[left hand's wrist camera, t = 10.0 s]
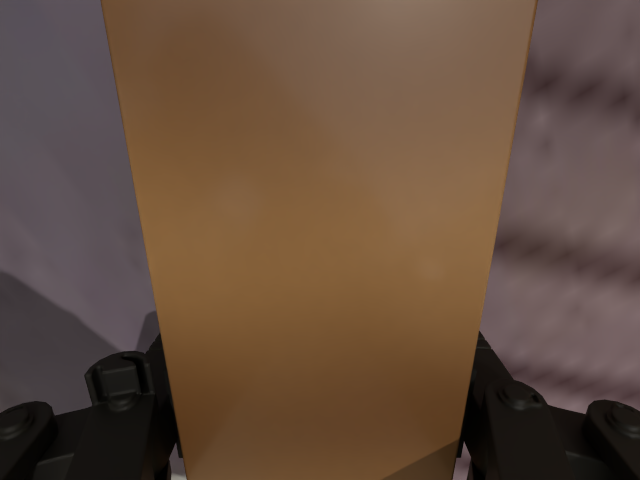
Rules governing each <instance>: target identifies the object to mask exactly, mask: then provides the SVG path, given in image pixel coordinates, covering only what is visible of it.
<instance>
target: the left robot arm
mask: <svg viewBox="0 0 640 480" xmlns="http://www.w3.org/2000/svg"><path fill="white" fill-rule="evenodd" d="M84 376H85V380H86V384H87V387H88V391H89V394H90V398H91V401H92V407H88V408H85V409H81V410H77V411H73V412H69V413H64V414H60V415H56V416H54V413H53V410H52V407H51V406H50V405H49V404H47V403H46V402H39V401H34V402H28V403H22V404H20V405H17V406H14V407H11V408H9V409H7V410H5V411H3V412H1V413H0V480H171V466H170V461H169V457H170V455H171V453H172V450H173V448H174V446H175V443H176V445H177V450H178V455H179V458H183V455H182V450H181V444H180V439H179V433H178V427H177V422H176V416H175V411H174V405H173V400H172V394H171V389H170V383H169V378H168V372H167V366H166V361H165V355H164V350H163V344H162V339H161V333H159V335H158V336H157V338H156V339H155V342H153V344H152V345H151V346H150V348H149V351H147V352H146V354H144V353H142V352H137V351H124V352H120V353H116V354H112V355H110V356H108V357H106V358H103V359H101V360H99V361H98V362H97V363H95V364H94V365H93V366H91V367H90V368H89V370H88V371H87V372H86V374H85V375H84ZM464 442H465V444H466V447H467V449H468V451H469V454H470V456H471V461H470V466H469V471H468V476H467V480H640V411H638V410H636V409H635V408H633V407H631V406H628V405H625V404H622V403H619V402H616V401H610V400H597V401H593V402H592V403H591V404H590V405H589V406H588V409H587V412H586V414H582V413H578V412H574V411H569V410H565V409H561V408H557V407H553V406H550V405H548V404H547V403H546V401H545V400H544V398H543V396H542V395H540V394H539V393H538V392H537V391H536V390H535V389H533V388H532V387H530V386H528V385H526V384H524V383H522V382H519V381H516V380H514V379H513V378H512V376H511V375H510V374H509V372H508V371H507V369H506V368H505V367H504V365H503V364H502V362H501V361H500V359H499V358H498V357H497V355H496V354H495V352H494V351H493V349H491V347H490V345H489V344H488V342H487V341H486V340H485V338H484V337H483V335H482V334H481V332H480V331H479V333H478V339H477V345H476V350H475V356H474V361H473V367H472V373H471V378H470V384H469V389H468V395H467V401H466V406H465V412H464V418H463V423H462V429H461V434H460V440H459V446H458V451H457V457H456V458H461V454H462V449H463V443H464Z"/></svg>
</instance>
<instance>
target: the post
mask: <svg viewBox="0 0 640 480" xmlns="http://www.w3.org/2000/svg"><path fill="white" fill-rule="evenodd" d="M537 3H538V0H101V5H102V11H103V16H104V22H105V28H106V33H107V39H108V44H109V50H110V55H111V61H112V66H113V72H114V78H115V83H116V89H117V94H118V100H119V105H120V111H121V116H122V122H123V128H124V133H125V139H126V144H127V150H128V155H129V161H130V166H131V172H132V178H133V183H134V189H135V194H136V200H137V205H138V211H139V216H140V222H141V228H142V233H143V239H144V244H145V250H146V255H147V261H148V266H149V272H150V278H151V283H152V289H153V294H154V300H155V305H156V311H157V316H158V322H159V328H160V333H161V339H162V344H163V350H164V355H165V361H166V366H167V372H168V378H169V383H170V389H171V394H172V400H173V405H174V411H175V416H176V422H177V427H178V433H179V439H180V444H181V450H182V455H183V461H184V466H185V472H186V477H187V480H452V479H453V474H454V468H455V462H456V457H457V451H458V446H459V440H460V434H461V429H462V423H463V418H464V412H465V406H466V401H467V395H468V389H469V384H470V378H471V373H472V367H473V361H474V356H475V350H476V345H477V339H478V333H479V328H480V322H481V317H482V311H483V305H484V300H485V294H486V289H487V283H488V277H489V272H490V266H491V261H492V255H493V249H494V244H495V238H496V232H497V227H498V221H499V216H500V210H501V204H502V199H503V193H504V188H505V182H506V176H507V171H508V165H509V160H510V154H511V148H512V143H513V137H514V132H515V126H516V120H517V115H518V109H519V104H520V98H521V92H522V87H523V81H524V75H525V70H526V64H527V59H528V53H529V47H530V42H531V36H532V31H533V25H534V19H535V14H536V8H537Z"/></svg>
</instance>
